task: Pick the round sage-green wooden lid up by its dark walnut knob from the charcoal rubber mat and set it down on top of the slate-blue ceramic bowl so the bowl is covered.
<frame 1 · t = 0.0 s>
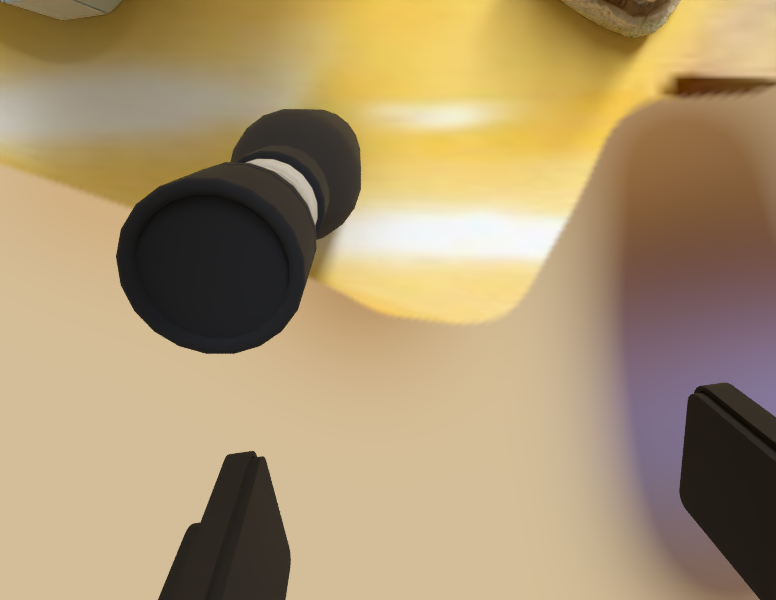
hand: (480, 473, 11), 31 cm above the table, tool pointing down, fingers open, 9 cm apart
black water bottle: (318, 154, 39), on the table
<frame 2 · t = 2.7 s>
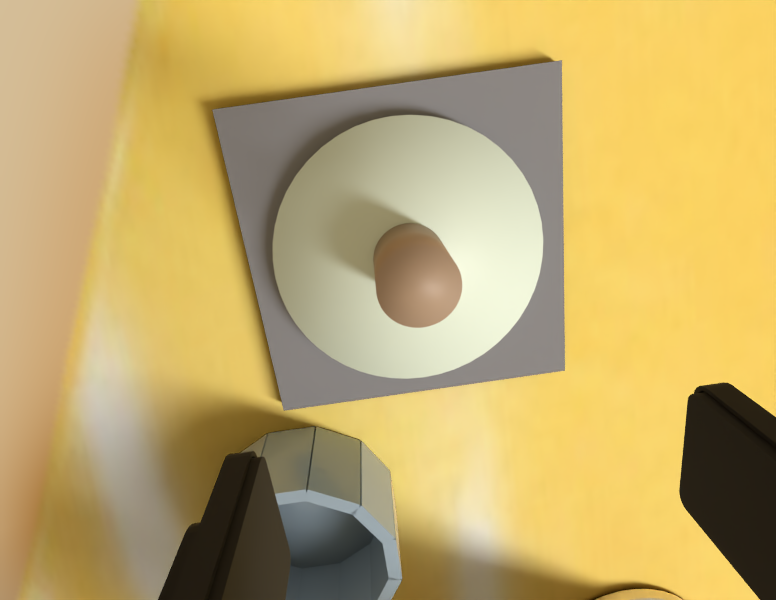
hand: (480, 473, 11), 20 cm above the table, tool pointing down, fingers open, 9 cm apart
lid: (407, 254, 29), point 1 cm above the table, touching mat
mat: (406, 250, 30), on the table
bowl: (308, 501, 36), on the table
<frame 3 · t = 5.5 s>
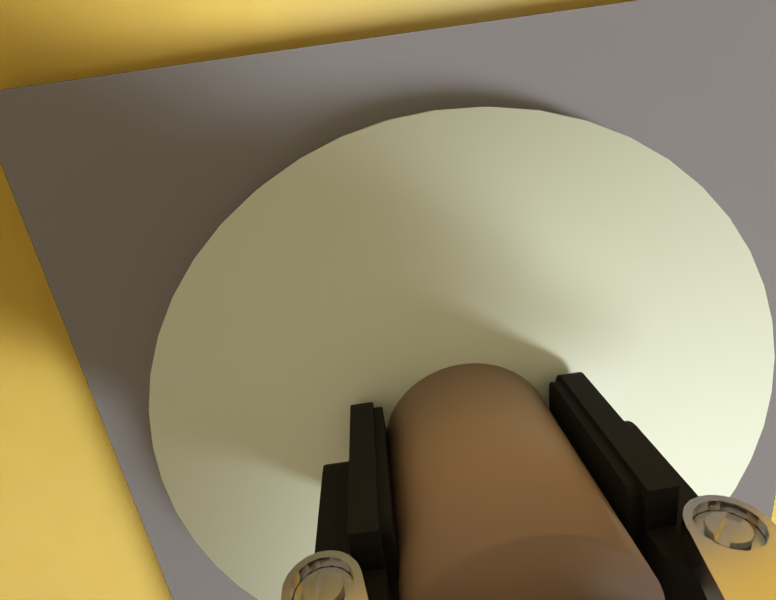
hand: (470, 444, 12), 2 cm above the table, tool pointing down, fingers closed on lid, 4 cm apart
lid: (460, 413, 13), point 1 cm above the table, touching gripper, mat
mat: (454, 397, 14), on the table
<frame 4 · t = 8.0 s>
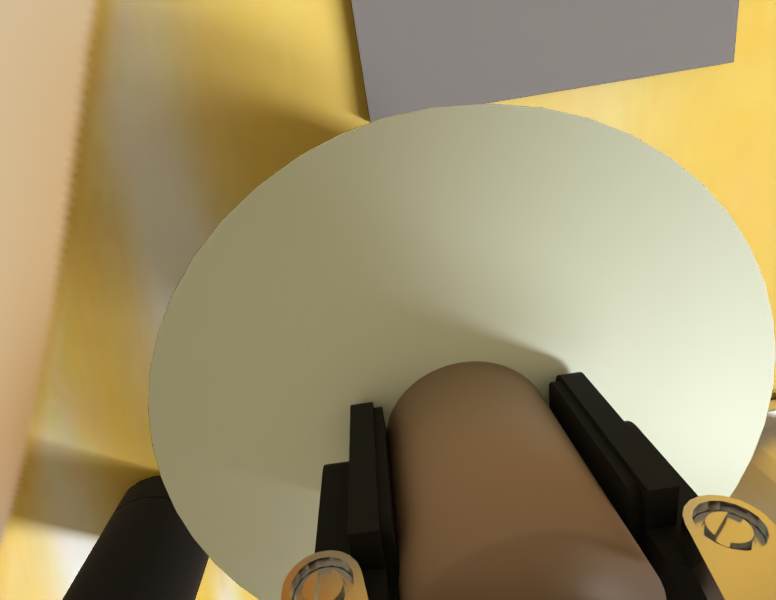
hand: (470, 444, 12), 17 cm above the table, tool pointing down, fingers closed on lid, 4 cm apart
lid: (460, 411, 13), point 16 cm above the table, touching gripper
black water bottle: (172, 512, 33), on the table
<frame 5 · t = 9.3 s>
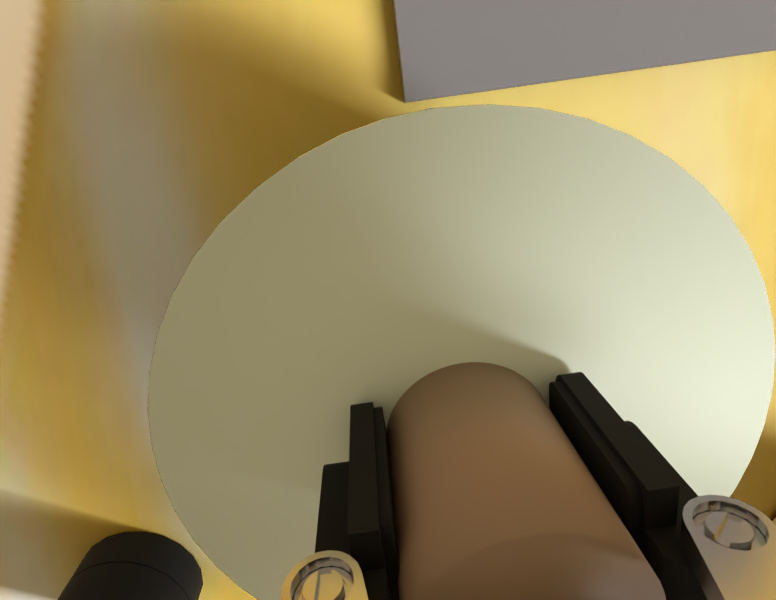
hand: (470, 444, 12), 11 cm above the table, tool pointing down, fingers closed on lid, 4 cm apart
lid: (460, 412, 13), point 10 cm above the table, touching gripper
black water bottle: (144, 573, 28), on the table
when the fingers open (9 cm above the table, at t = 10.5 s): lid drops 1 cm, resting on bowl.
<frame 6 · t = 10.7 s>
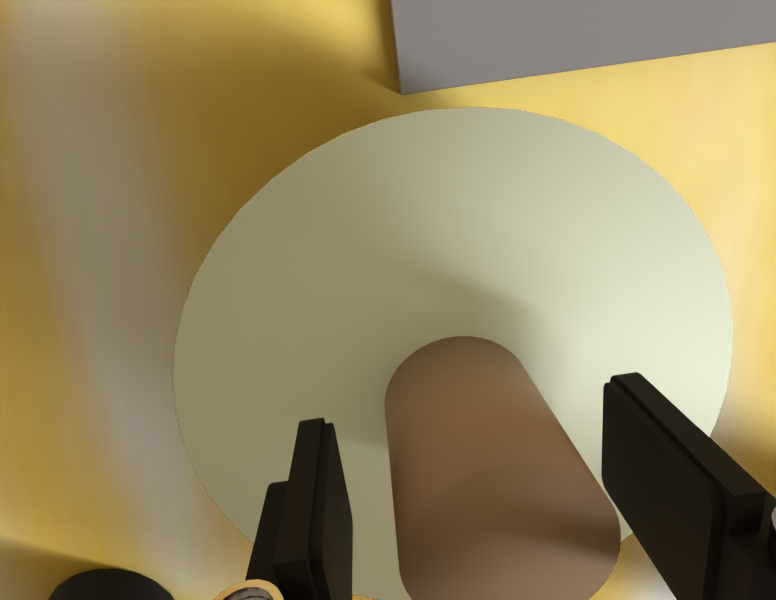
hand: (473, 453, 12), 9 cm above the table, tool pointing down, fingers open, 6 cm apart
lid: (451, 384, 15), point 6 cm above the table, touching bowl
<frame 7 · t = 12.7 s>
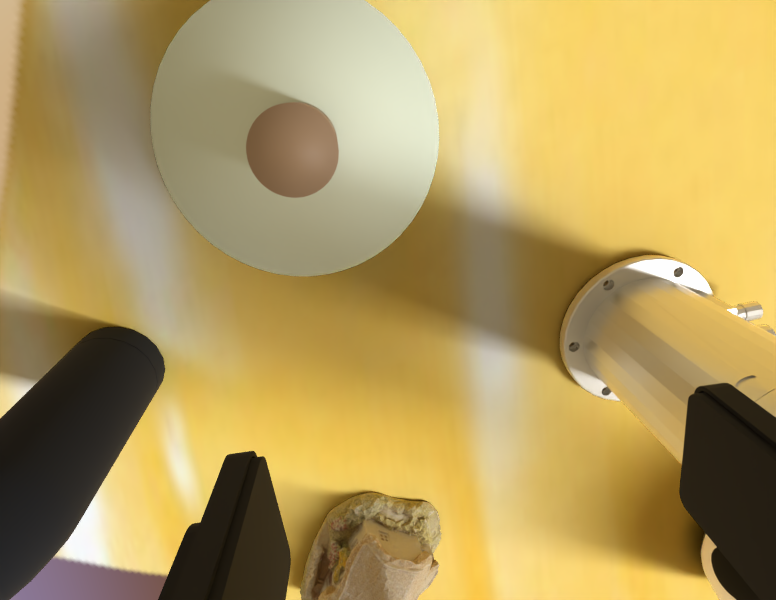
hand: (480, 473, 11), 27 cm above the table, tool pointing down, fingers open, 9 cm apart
lid: (300, 140, 28), point 6 cm above the table, touching bowl
ceramic model: (369, 544, 48), on the table
black water bottle: (121, 363, 38), on the table
milk container: (764, 517, 52), on the table
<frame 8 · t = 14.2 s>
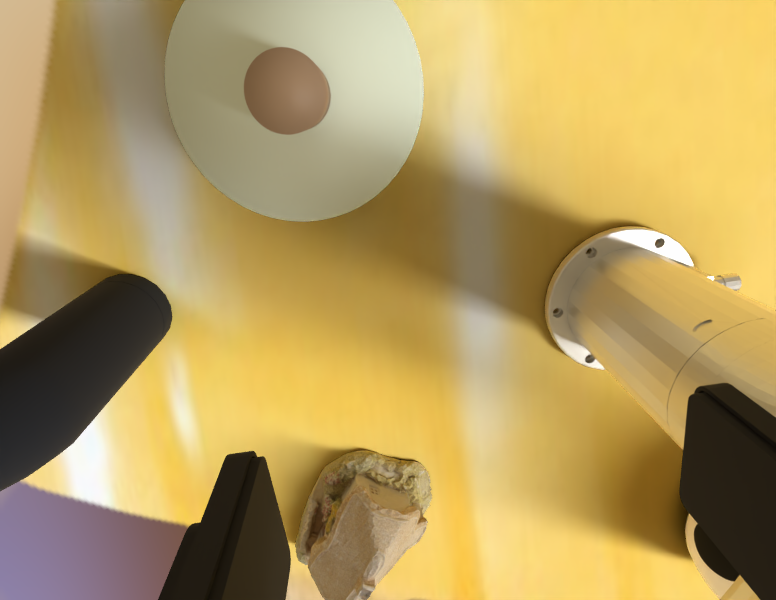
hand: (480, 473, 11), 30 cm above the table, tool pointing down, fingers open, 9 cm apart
lid: (298, 95, 31), point 6 cm above the table, touching bowl
ceramic model: (362, 502, 50), on the table
black water bottle: (132, 310, 41), on the table
milk container: (751, 501, 52), on the table
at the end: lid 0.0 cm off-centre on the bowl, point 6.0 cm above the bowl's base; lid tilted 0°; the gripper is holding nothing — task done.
